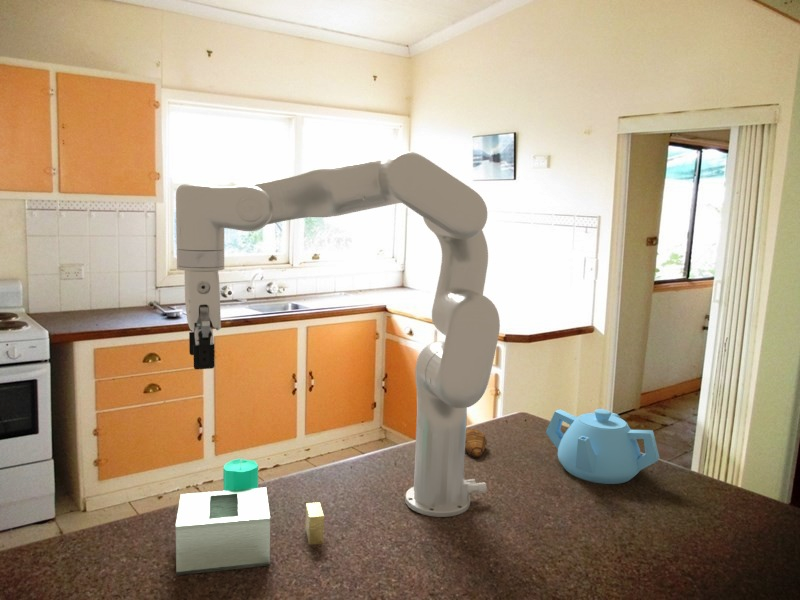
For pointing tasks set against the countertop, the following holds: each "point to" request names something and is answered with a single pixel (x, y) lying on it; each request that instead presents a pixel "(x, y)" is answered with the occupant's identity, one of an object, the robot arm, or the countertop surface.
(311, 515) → the block
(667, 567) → the countertop surface
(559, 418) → the teapot
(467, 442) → the croissant
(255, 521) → the coin box
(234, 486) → the candle
